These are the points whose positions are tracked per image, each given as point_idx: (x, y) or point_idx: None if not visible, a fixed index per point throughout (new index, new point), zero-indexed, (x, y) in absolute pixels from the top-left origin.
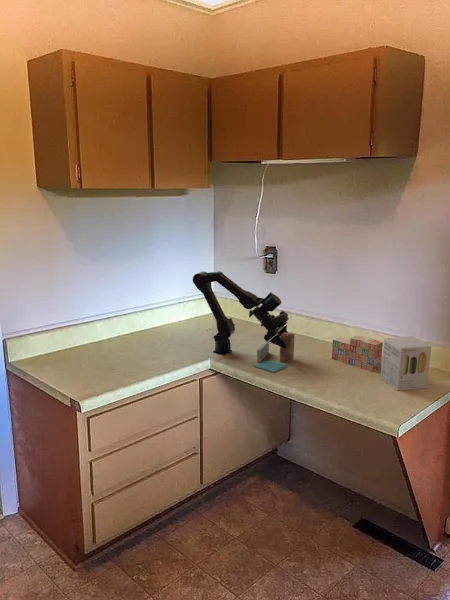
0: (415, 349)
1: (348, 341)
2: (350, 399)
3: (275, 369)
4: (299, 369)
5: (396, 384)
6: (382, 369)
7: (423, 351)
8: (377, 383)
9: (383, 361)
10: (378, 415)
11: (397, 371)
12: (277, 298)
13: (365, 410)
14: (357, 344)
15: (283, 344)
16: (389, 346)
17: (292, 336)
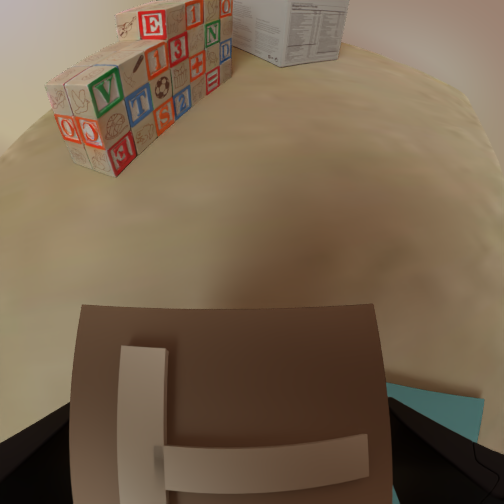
0: None
1: (115, 51)
2: (455, 125)
3: (460, 407)
4: (366, 292)
5: (337, 48)
6: (288, 41)
7: None
8: (320, 73)
9: (292, 18)
10: (463, 102)
11: (341, 21)
12: None
13: (467, 113)
14: (188, 21)
15: (428, 427)
16: None
17: (300, 311)
